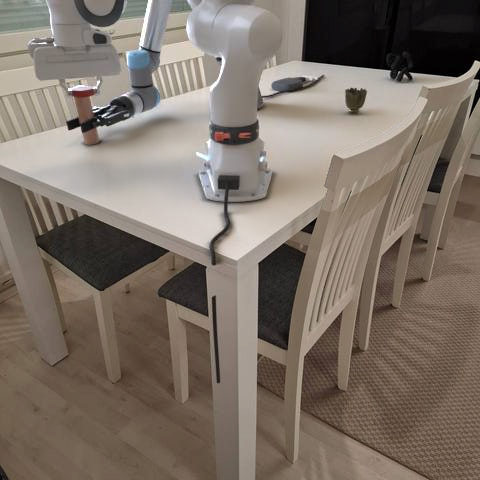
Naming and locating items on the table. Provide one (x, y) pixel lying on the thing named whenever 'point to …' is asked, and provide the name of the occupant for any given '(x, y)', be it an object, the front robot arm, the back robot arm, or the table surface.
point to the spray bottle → (291, 83)
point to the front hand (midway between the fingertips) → (84, 96)
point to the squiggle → (399, 66)
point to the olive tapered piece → (355, 99)
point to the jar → (86, 118)
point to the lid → (82, 91)
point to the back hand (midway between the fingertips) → (75, 127)
